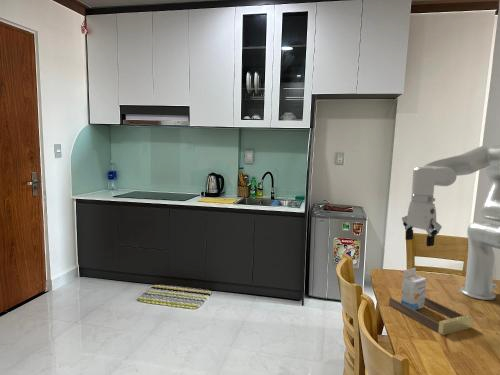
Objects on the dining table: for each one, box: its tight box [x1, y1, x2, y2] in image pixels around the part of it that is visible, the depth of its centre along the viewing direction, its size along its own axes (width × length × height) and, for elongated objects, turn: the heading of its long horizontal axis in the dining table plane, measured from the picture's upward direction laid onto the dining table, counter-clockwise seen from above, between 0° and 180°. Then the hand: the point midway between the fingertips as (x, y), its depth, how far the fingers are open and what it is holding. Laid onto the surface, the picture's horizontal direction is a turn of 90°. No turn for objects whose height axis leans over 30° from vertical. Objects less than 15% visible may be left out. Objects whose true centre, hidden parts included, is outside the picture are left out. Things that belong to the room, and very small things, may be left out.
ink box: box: [400, 267, 427, 311], centre depth 133 cm, size 8×5×15 cm, turn 123°
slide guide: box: [388, 296, 474, 336], centre depth 127 cm, size 14×24×4 cm, turn 22°
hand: (419, 242), depth 134 cm, fingers open, 9 cm apart
